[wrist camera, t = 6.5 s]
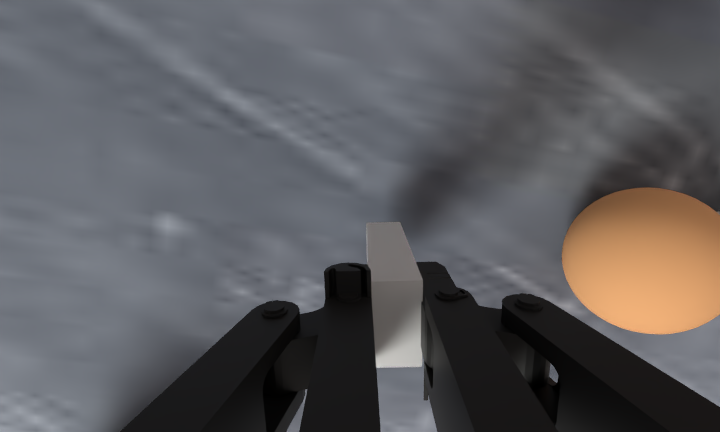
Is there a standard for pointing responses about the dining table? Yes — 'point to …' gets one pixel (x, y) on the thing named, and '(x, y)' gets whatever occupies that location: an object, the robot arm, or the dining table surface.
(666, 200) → the ball
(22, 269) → the dining table surface
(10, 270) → the dining table surface
